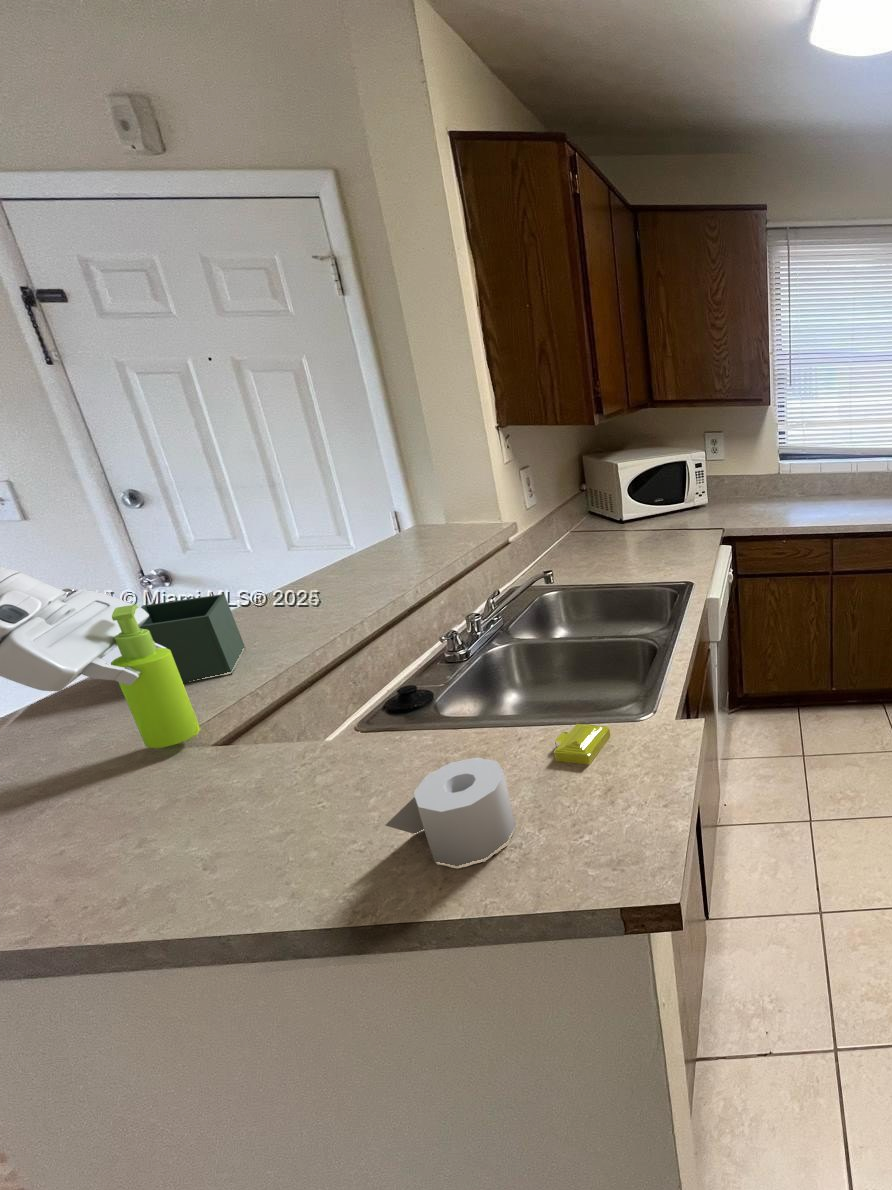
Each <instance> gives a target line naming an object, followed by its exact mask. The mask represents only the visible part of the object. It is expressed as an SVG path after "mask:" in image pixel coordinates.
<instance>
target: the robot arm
mask: <svg viewBox="0 0 892 1190" xmlns="http://www.w3.org/2000/svg"><path fill="white" fill-rule="evenodd" d="M129 605H134V604H133V603H130V602H128V601H126V600H123V599H121V598H118V597H115V596H113V595H111V594H110V595H109V594H107V593H104V592H100V591H97V590H88V589H87V590H84V589H71V588H64V589H60V588H58V587H56V586H53V585H51V584H49V583H46V582H44V581H42V580H40V579H38V578H35V577H33V576H30V575H28V574H26V573H23V572H21V571H19V570H15V569H12V568H7V567H3V566H0V677H2V678H4V679H6V680H9V681H12V682H15V683H16V684H20V685H23V686H26V687H29V688H32V689H34V690H39V691H43V692H44V691H45V692H60V691H62V690H64V689H65V688H66V687H67V686H68V685H70V684H71V683H72V682H74V681H75V680H77V678H79V677H80V676H81V675H82V676H85V677H87V678H90V679H94V680H104V681H105V680H106V681H115V682H118V683H119V682H120V683H123V684H126V685H131V684H133V683H134V682H135V681H136V680H137V679H138V678H139V677H140V676H141V674H142V671H141V670H139V669H135V668H134V667H131V666H129V665H128V666H127V667H126V668H124V667H119V666H114V665H111V664H108V663H109V662H108V661H107V660H105V659H103V658H104V657H105V656H106V655H109V653H110V652H111V651H113V650H114V649H115V648H117V647H118V646H117V643H116V641H115V636H116V635H118V634H119V633H121V629H120V627H119V624H118V622H117V620H115V621H113V619H112V614H113V612H114V610H115V608H117V607H123V606H129ZM134 617H135V619H136V622H137V624H138V627H139V628H140V626H141V625H142V624H143V623H144V622H145V621H146V620H147V618H148V617H149V614H148V613H147V612H146V611H145V610H144V609H142V608H141V607H140V606H138V608H137V609H136V611H135V613H134ZM154 644H155V646H156V648H166V647H164V646H161V645H159V644H157V643H154Z"/></svg>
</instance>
